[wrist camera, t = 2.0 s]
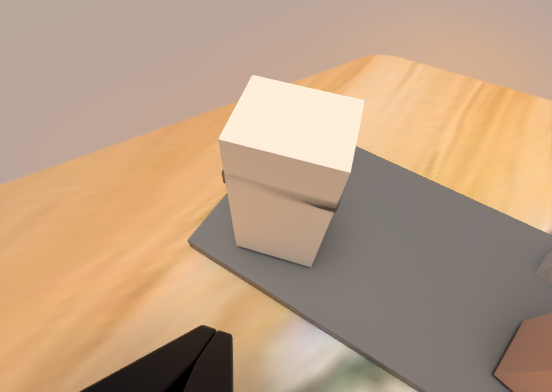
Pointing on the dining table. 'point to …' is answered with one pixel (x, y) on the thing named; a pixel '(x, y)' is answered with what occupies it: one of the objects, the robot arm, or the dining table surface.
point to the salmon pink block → (529, 357)
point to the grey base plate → (407, 277)
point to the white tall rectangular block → (287, 165)
